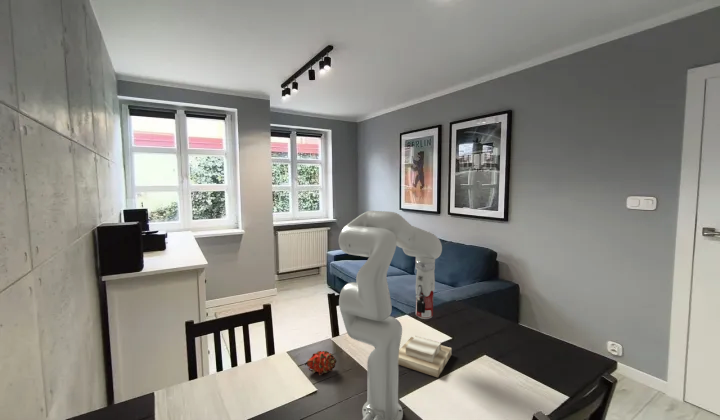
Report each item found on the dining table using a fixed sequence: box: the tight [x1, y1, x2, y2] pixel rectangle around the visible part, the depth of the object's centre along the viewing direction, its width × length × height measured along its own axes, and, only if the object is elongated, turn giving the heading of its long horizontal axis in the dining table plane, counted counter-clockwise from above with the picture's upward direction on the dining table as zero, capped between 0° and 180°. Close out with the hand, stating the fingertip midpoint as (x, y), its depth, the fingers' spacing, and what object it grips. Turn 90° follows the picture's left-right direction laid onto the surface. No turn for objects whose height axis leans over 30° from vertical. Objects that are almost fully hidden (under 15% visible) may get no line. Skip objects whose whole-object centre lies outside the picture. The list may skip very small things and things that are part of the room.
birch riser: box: [398, 335, 452, 378], centre depth 128 cm, size 18×18×6 cm
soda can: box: [415, 291, 434, 320], centre depth 126 cm, size 7×7×12 cm
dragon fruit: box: [304, 350, 337, 376], centre depth 119 cm, size 8×8×12 cm
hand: (424, 308), depth 126 cm, fingers closed on soda can, 6 cm apart
